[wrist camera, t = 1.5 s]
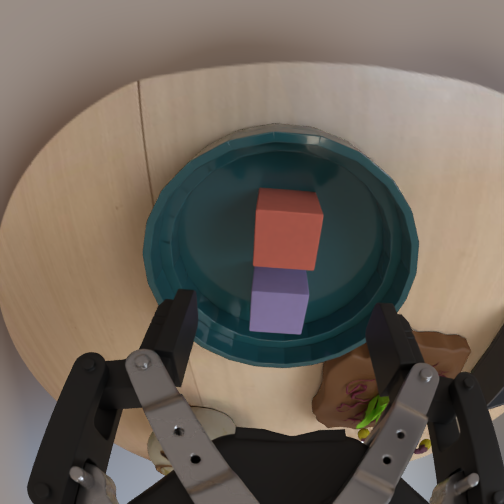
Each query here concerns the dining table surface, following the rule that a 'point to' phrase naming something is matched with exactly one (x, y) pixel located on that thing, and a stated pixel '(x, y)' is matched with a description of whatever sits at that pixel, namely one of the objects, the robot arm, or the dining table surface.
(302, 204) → the salmon red toy brick
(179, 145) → the dining table surface
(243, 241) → the bowl
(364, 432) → the plant
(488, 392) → the bin
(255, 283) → the lavender foam cube
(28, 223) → the dining table surface
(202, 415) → the sugar bowl
